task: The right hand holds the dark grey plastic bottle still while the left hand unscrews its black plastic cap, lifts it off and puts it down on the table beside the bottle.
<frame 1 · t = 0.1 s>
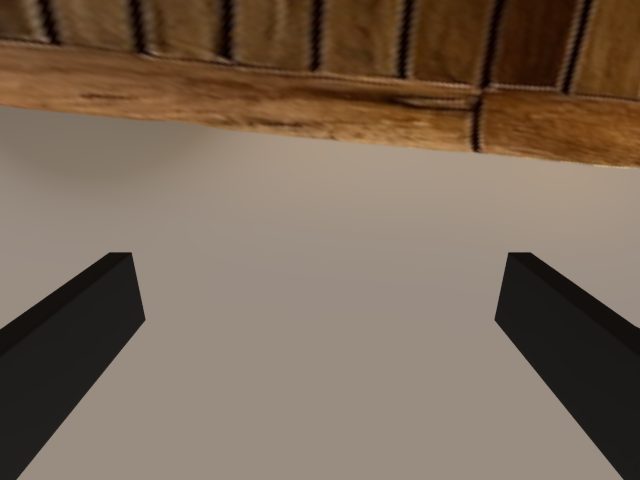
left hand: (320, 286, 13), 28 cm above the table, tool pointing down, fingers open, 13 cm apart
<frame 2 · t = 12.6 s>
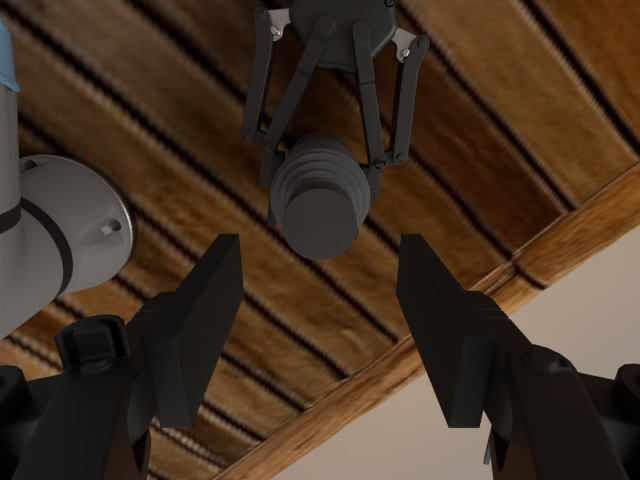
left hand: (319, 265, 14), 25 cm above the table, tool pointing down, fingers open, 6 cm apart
right hand: (312, 227, 34), fingers closed on bottle, 7 cm apart
cap: (320, 224, 19), point 20 cm above the table, screwed on, not yet turned
bottle: (319, 164, 38), on the table, touching right hand
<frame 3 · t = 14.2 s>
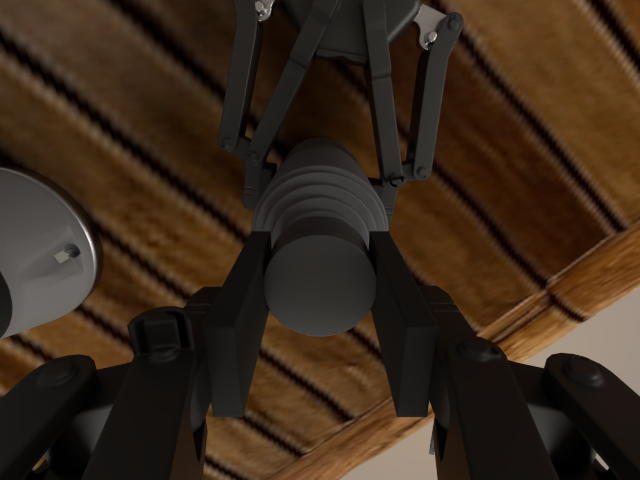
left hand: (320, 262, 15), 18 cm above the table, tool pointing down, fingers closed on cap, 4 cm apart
right hand: (310, 257, 27), fingers closed on bottle, 7 cm apart
cap: (320, 284, 13), point 20 cm above the table, screwed on, not yet turned, touching left hand
bottle: (319, 176, 32), on the table, touching right hand
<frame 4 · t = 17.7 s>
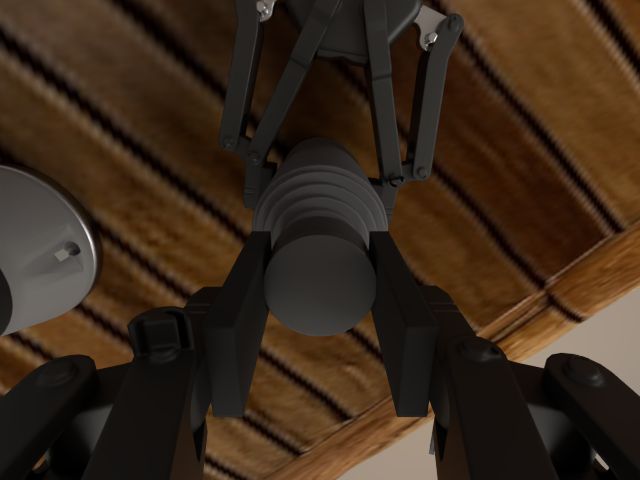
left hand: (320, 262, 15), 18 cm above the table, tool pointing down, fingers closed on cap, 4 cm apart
right hand: (310, 256, 27), fingers closed on bottle, 7 cm apart
cap: (320, 284, 13), point 20 cm above the table, turned 107° so far, risen 0.1 cm, still on its thread, touching left hand
bottle: (319, 176, 32), on the table, touching right hand
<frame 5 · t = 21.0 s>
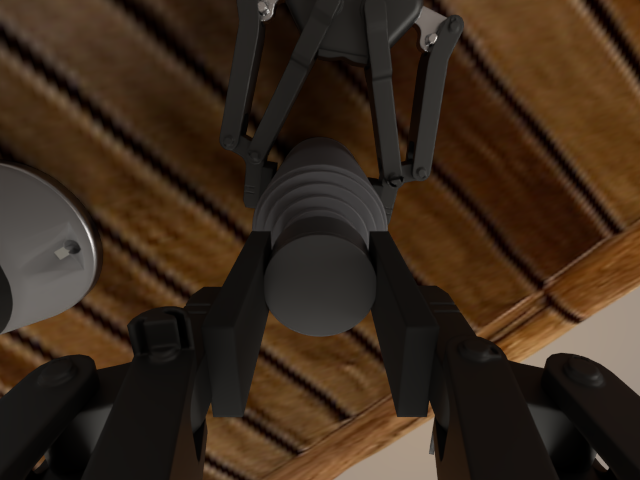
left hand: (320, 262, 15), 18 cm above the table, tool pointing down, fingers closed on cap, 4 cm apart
right hand: (309, 255, 27), fingers closed on bottle, 7 cm apart
cap: (320, 284, 13), point 20 cm above the table, turned 215° so far, risen 0.2 cm, still on its thread, touching left hand
bottle: (319, 176, 32), on the table, touching right hand
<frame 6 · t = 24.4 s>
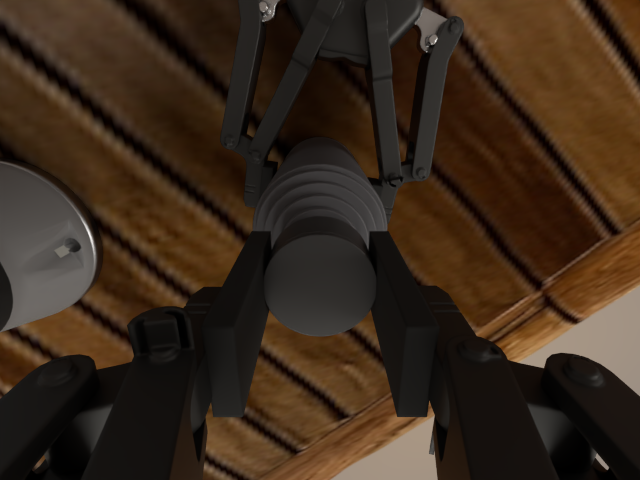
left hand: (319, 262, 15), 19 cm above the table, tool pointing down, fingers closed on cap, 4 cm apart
right hand: (309, 255, 28), fingers closed on bottle, 7 cm apart
cap: (320, 284, 13), point 21 cm above the table, turned 322° so far, risen 0.3 cm, still on its thread, touching left hand
bottle: (319, 176, 32), on the table, touching right hand
when the left hand's fingers open (1 cm above the table, at t = 30.2 s): cap drops 1 cm, point 2 cm above the table.
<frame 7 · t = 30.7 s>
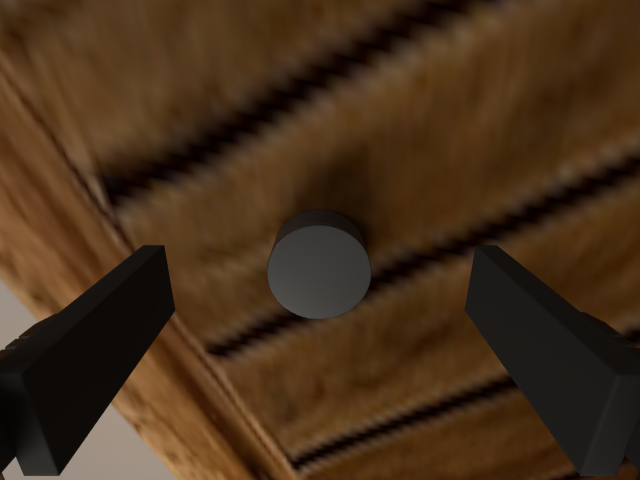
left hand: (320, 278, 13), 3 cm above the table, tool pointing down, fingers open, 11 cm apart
cap: (319, 271, 14), point 2 cm above the table, off its thread
when the right hand's fingers open (7 cm above the table, at t = 31.5 s): bottle stays where it is, on the table.
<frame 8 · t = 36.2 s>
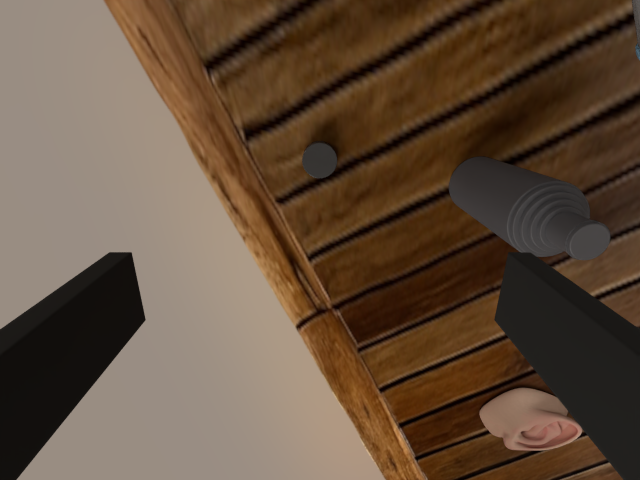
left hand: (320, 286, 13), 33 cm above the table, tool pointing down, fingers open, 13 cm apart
anatomical model: (521, 413, 58), on the table
cap: (319, 160, 42), point 2 cm above the table, off its thread
bottle: (476, 184, 44), on the table
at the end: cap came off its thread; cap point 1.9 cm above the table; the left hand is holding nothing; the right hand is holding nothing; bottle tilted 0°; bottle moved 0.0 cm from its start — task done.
